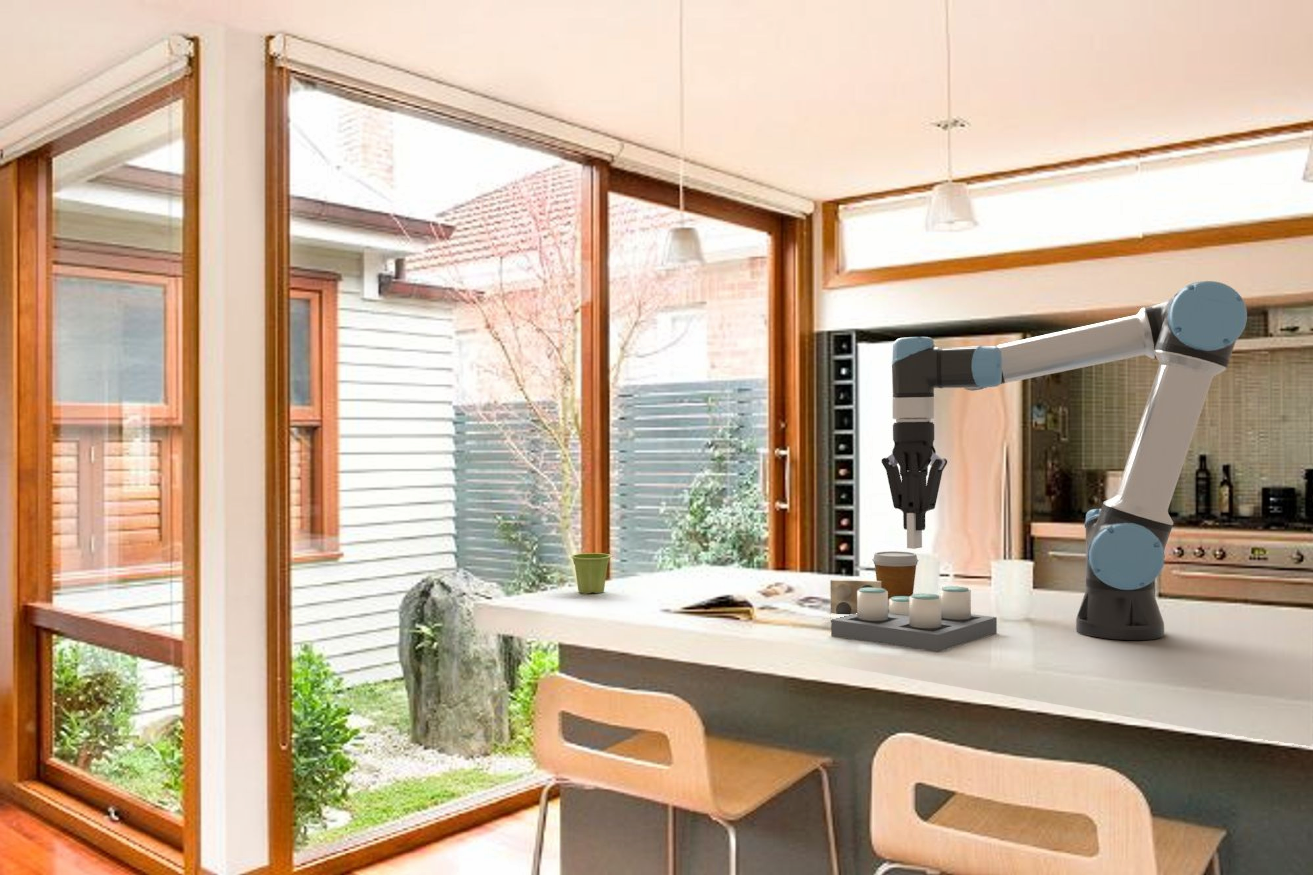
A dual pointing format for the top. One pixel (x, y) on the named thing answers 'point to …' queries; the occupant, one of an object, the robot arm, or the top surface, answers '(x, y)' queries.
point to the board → (915, 631)
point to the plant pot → (591, 571)
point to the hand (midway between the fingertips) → (914, 547)
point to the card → (847, 594)
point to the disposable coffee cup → (896, 572)
